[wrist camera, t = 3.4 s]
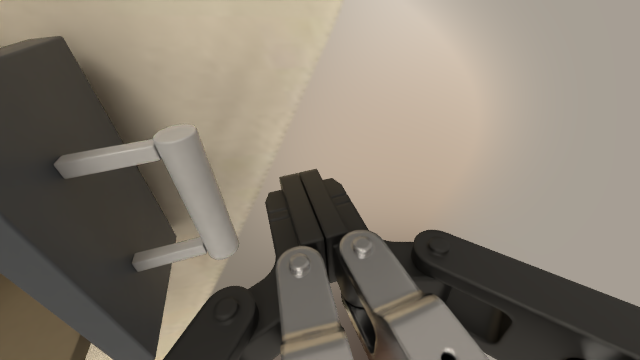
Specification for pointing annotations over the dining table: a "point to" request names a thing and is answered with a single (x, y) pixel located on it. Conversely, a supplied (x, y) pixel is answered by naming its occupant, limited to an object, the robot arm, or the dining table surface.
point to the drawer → (88, 215)
